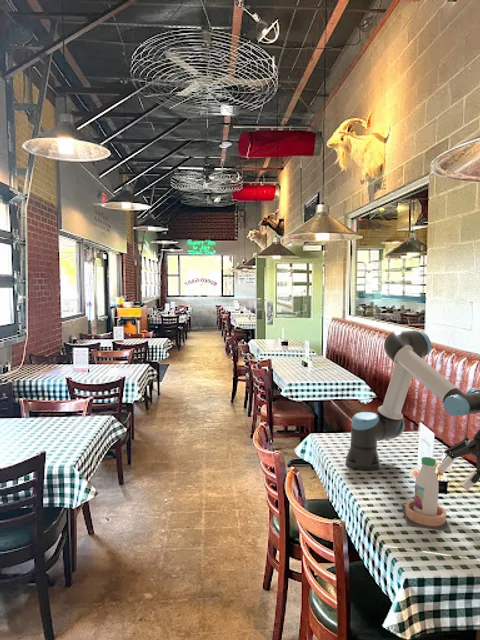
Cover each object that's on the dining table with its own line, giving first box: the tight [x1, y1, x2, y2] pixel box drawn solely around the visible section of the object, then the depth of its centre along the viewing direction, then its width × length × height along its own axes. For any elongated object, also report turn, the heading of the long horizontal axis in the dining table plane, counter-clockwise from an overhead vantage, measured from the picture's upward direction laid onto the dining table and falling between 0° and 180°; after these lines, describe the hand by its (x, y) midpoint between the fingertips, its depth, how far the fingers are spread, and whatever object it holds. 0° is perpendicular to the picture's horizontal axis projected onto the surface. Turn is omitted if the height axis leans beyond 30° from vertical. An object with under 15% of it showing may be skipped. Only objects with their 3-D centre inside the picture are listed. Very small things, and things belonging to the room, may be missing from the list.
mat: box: [400, 504, 453, 532], centre depth 163 cm, size 14×16×1 cm
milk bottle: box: [413, 456, 440, 516], centre depth 163 cm, size 8×8×20 cm
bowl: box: [404, 500, 447, 527], centre depth 163 cm, size 13×13×3 cm
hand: (451, 479), depth 166 cm, fingers open, 13 cm apart
